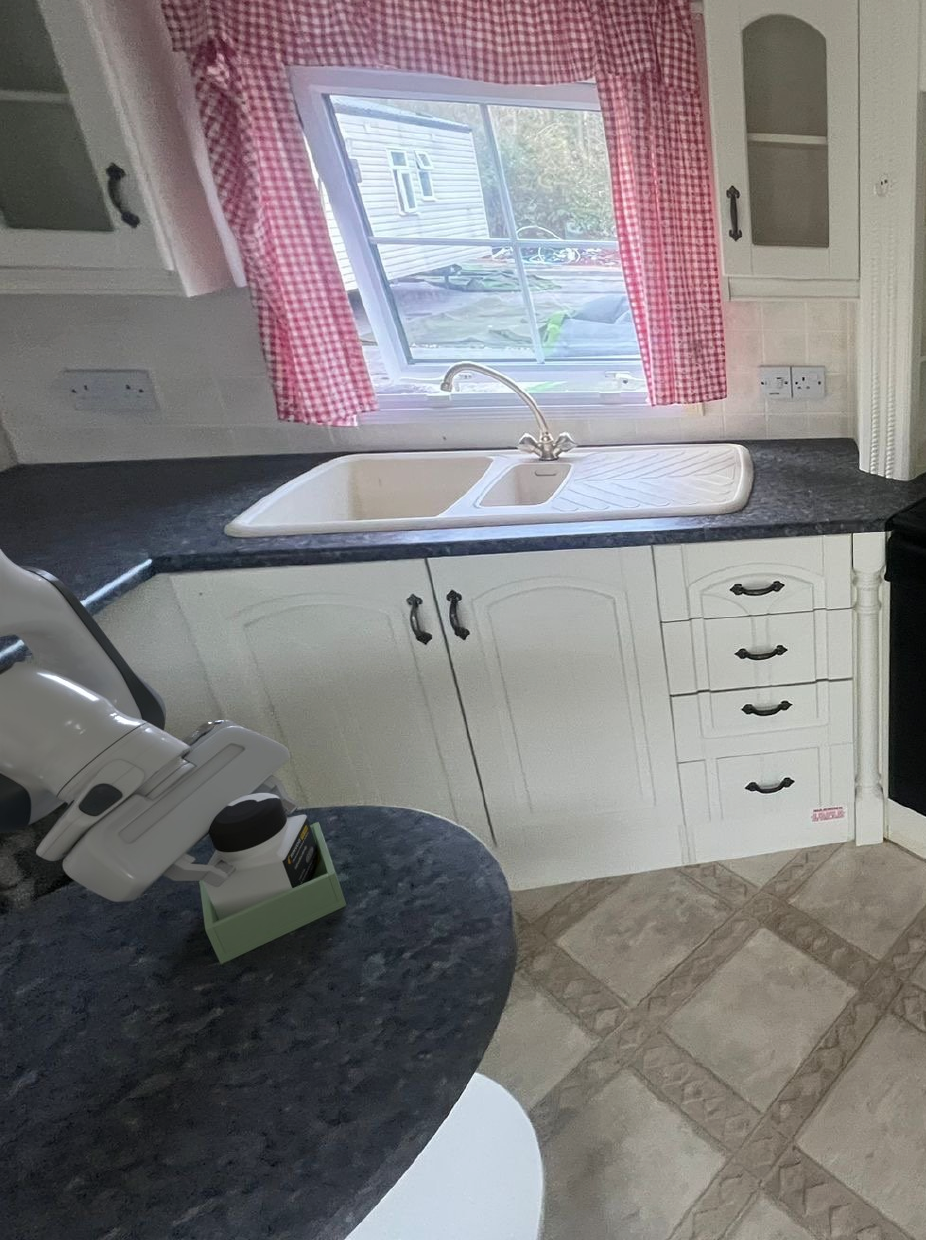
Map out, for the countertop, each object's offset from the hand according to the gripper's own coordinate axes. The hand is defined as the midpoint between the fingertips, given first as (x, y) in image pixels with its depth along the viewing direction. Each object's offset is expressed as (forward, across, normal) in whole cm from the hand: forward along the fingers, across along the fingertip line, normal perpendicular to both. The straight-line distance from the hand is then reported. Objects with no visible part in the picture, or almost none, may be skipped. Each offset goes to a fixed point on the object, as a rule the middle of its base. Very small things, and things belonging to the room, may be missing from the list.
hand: (262, 844), depth 85 cm
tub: (+6, 0, -7) cm, 9 cm away
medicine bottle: (+4, 0, -6) cm, 7 cm away
